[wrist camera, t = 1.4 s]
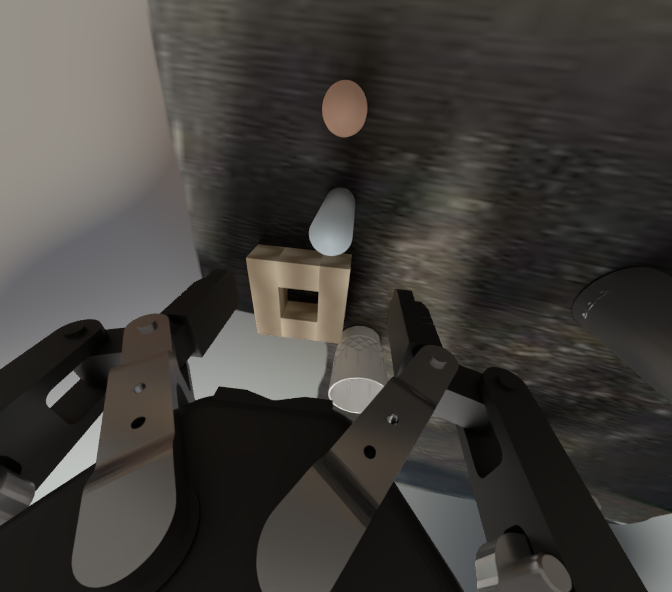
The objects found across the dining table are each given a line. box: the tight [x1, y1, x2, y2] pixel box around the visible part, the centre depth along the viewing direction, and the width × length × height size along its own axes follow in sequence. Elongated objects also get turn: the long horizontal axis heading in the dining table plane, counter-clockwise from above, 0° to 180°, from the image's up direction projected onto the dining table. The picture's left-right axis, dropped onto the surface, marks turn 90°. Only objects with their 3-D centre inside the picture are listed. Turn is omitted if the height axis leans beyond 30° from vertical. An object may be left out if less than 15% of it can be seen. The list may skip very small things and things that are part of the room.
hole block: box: [246, 244, 352, 344], centre depth 32 cm, size 12×12×4 cm
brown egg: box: [322, 80, 367, 137], centre depth 20 cm, size 3×3×5 cm
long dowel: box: [309, 187, 355, 256], centre depth 22 cm, size 3×3×10 cm
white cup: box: [328, 326, 388, 413], centre depth 34 cm, size 8×8×10 cm
